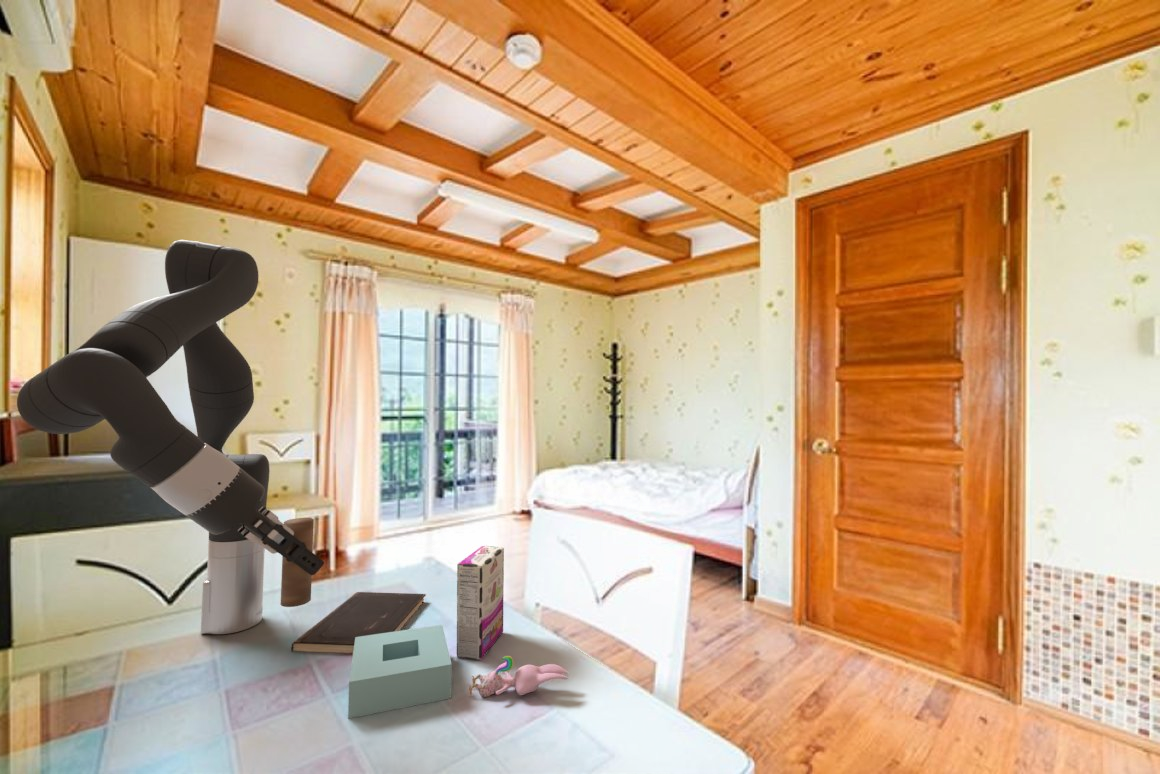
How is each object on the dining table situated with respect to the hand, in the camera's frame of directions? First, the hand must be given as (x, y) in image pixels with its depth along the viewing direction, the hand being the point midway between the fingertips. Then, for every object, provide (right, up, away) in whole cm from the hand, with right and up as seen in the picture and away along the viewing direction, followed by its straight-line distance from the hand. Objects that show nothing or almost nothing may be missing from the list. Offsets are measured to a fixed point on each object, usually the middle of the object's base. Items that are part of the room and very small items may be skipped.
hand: (312, 564), depth 69 cm
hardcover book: (-5, -23, +29) cm, 37 cm away
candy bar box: (+19, -22, +21) cm, 36 cm away
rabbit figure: (+28, -22, +6) cm, 37 cm away
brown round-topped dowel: (-1, -4, -2) cm, 5 cm away
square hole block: (+9, -22, +9) cm, 25 cm away
